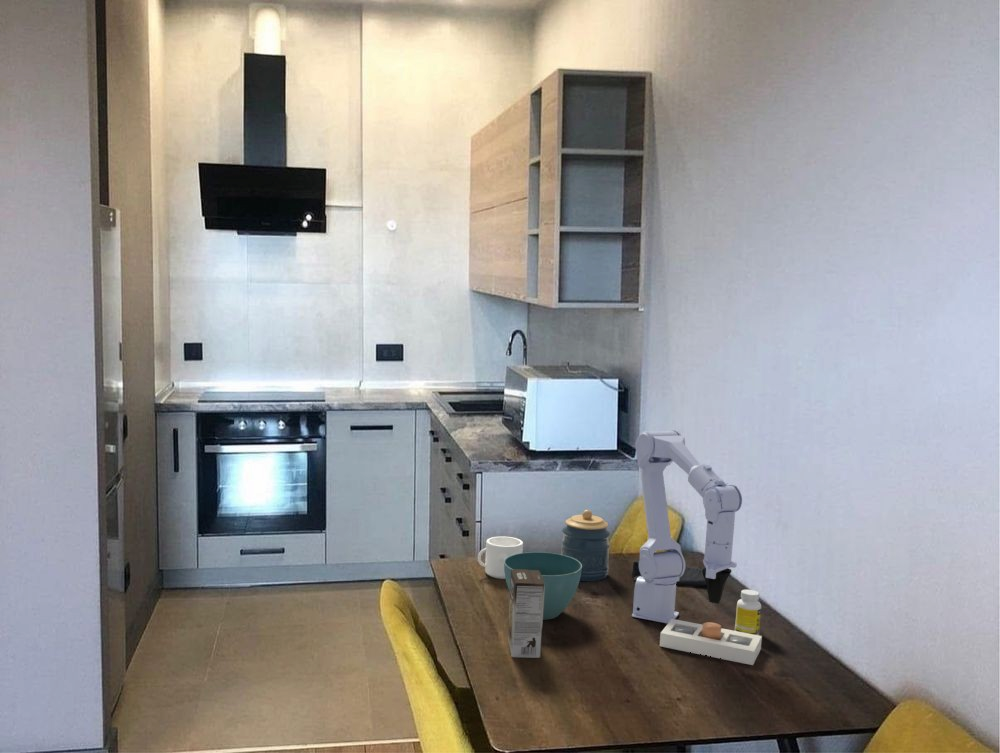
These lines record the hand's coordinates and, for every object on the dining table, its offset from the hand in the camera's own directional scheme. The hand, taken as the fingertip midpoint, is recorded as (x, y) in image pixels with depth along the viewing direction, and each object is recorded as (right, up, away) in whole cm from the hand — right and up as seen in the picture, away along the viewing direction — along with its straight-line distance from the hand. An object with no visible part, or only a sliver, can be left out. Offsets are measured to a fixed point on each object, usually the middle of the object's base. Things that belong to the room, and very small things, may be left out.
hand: (714, 601), depth 209 cm
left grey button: (-6, -10, +3) cm, 12 cm away
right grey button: (+5, -11, -1) cm, 12 cm away
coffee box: (-42, -9, -5) cm, 43 cm away
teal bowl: (-37, -7, +17) cm, 42 cm away
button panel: (-1, -10, +1) cm, 10 cm away
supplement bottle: (+10, -10, +11) cm, 18 cm away
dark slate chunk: (0, -6, +50) cm, 50 cm away
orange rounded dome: (-1, -8, +1) cm, 8 cm away
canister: (-24, -4, +49) cm, 54 cm away
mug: (-47, -4, +44) cm, 65 cm away
